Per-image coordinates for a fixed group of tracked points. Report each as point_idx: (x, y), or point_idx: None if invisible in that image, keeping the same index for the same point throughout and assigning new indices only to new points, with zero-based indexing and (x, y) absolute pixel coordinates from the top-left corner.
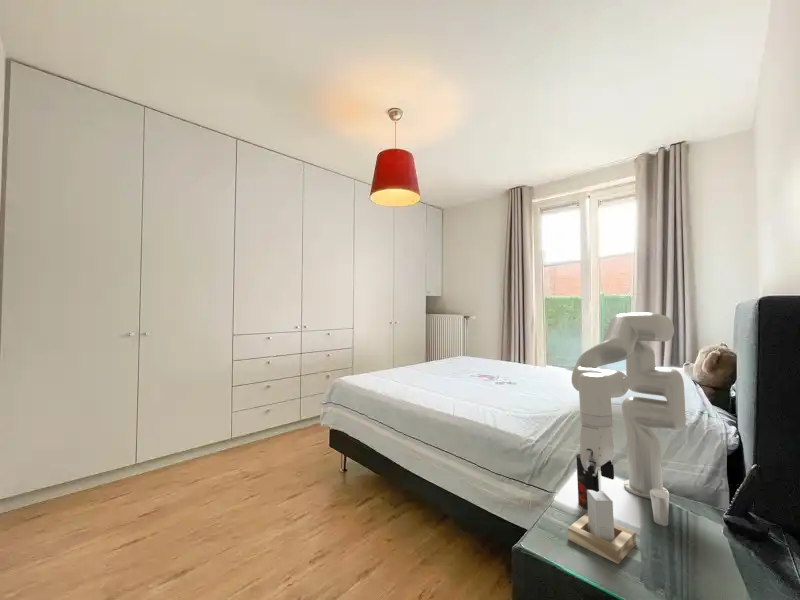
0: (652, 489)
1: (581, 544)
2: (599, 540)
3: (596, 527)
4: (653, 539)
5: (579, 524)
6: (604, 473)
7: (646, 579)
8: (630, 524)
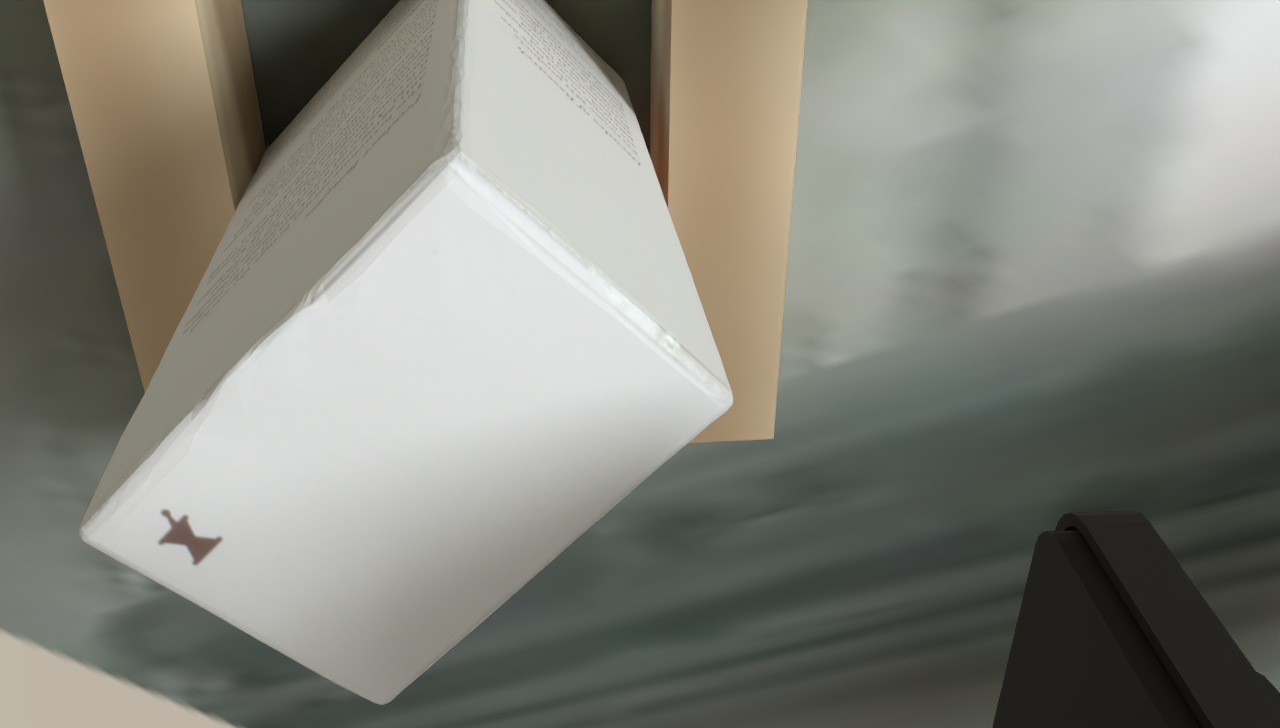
0: None
1: None
2: (165, 263)
3: (227, 238)
4: (979, 429)
5: None
6: (1066, 693)
7: None
8: (1160, 177)
